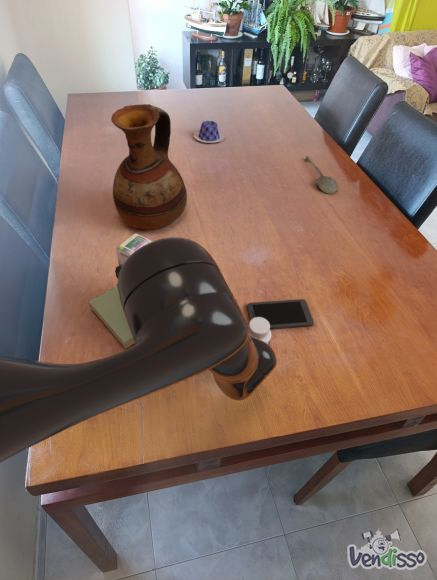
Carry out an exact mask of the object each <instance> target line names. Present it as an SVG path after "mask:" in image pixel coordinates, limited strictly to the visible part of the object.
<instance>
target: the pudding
mask: <svg viewBox="0 0 437 580" xmlns="http://www.w3.org/2000/svg"><path fill="white" fill-rule="evenodd" d="M193 138H194V139H195V140H197V141H199V142H201V143H209V144H212V143H218V142H221V141H223V140H224V139H225V138H226V136H225V133H224V132H223V131H222V130H219V126H218V123H217V122H216V121H214V120H204V121H202V122H201V125H200V129H198V130H196V131H194V132H193Z"/></svg>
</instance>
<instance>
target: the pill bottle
mask: <svg viewBox="0 0 437 580" xmlns="http://www.w3.org/2000/svg"><path fill="white" fill-rule="evenodd" d="M248 327H249V335H251V336H253V337H256V338H258V339H260V340H262V341H264V342H265V343H267V344H268V345H269V346H270V345H271V342H272V331H271V329H270V324H269V322H268V321H267V320H266V319H264V318H262V317H255V318H253V319H252V320H251V321H250V320H249V323H248Z"/></svg>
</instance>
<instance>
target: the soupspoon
mask: <svg viewBox="0 0 437 580" xmlns="http://www.w3.org/2000/svg"><path fill="white" fill-rule="evenodd" d="M305 160H306V161H308V162H309V163H311V165H312V166H313V168H314V169H315V170H316V172H317V173H318V175H319V176H318V178H317V179H316V184H317V186H318V188H319V189H320V190H321V191H322V192H323V193H325V194H328V195H333V194H335V193H336V192H337V191H338V189H339V185H338V183H337V181H336V180H335V179H334V177H333V178H332V177H331V176H326V175H324V174H323V172H322V171H321V170H320V169H319V167H318V166H317V165H316V163H315V162H314V161H313V160H312V159H311V156H310V155H306V156H305Z"/></svg>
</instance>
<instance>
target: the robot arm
mask: <svg viewBox="0 0 437 580" xmlns="http://www.w3.org/2000/svg"><path fill="white" fill-rule="evenodd" d="M114 273H115V278H116V279H117V283H116V287H118V291H119V297H120V302H121V305H122V308H123V311H124V314H125V316H126V319H127V322H128V325H129V328H130V330H131V333H132V336H133V339H134V342H135V343H134V344H133V345H132V346H130V347H128V348H126V349H124V350H122V351H120V352H117V353H115V354H112V355H109V356H106V357H102V358H98V359H95V360H89V361H86V362H85V361H84V362H80V363H56V362H47V361H39V360H32V359H26V358H18V357H13V356H2V355H1V356H0V463H3V462H4V461H6V460H9V459H10V458H12V457H15V456H16V455H18V454H20V453H22V452H24V451H26V450H28V449H29V448H31V447H33V446H35V445H38V444H40V443H42V442H44V441H46V440H48V439H50V438H52V437H54V436H56V435H58V434H60V433H62V432H64V431H66V430H68V429H70V428H72V427H74V426H78V425H79V424H81V423H83V422H85V421H87V420H90V419H92V418H95V417H97V416H99V415H102V414H105V413H107V412H109V411H111V410H114V409H116V408H120V407H121V406H124V405H126V404H129V403H131V402H134V401H136V400H139V399H142V398H144V397H146V396H149V395H152V394H154V393H156V392H160V391H162V390H164V389H167V388H170V387H172V386H174V385H176V384H179V383H181V382H184V381H186V380H189V379H191V378H193V377H196V376H198V375H201V374H203V373H205V372H208V371H209V372H210V373H212V376H213V379H214V382H215V383H216V385H217V387H218V388H219V390H220V391H221V392H222V393H223V394H224V395H225V396H226V397H227V398H229V399H230V400H233V401H237V402H241V401H245V400H246V399H248V398H249V397H250V396H252V394H253V393H254V392H256V390H257V389H258V388H259V387H260V386H261V384H262V383H264V381H265V380H266V379H267V378H268V377H269V376H270V375H271V374H272V372H273V371H274V370H275V368H276V367H277V365H278V364H277V363H278V360H277V359H278V357H277V355H276V353H275V351H274V349H273V348H272V347H271V346H270V345H268V344H267V343H265V342H264V341H262V340H260V339H258V338H256V337H253V336H251V335H249V327H248V326H249V323H248V321H247V319H246V317H245V315H244V313H243V311H242V309H241V307H240V305H239V303H238V301H237V299H236V298H235V296H234V293H233V292H232V291H231V288H230V286H229V284H228V282H227V281H226V279H225V277H224V275H223V273H222V271H221V269H220V267H219V264H218V263H217V262H216V260H215V259H214V258H213V256H212V255H211V254H210V252H209V251H208V250H207V249H206V248H205V247H203V246H202V245H201V244H200V243H198V242H196V241H194V240H191V239H189V238H185V237H177V236H176V237H175V236H173V237H172V236H171V237H164V238H160V239H155V240H152V242H150V243H148V244H146V245H144V246H142V247H141V248H139V249H137V250H136V251H135V252H134V253H132V254H131V255H130V256H129V257H128V258H127V260H126V261H125V262H124V264H123V265H122V268H121V267H120V266H119V265H118V266H116V267H115V270H114Z"/></svg>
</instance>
